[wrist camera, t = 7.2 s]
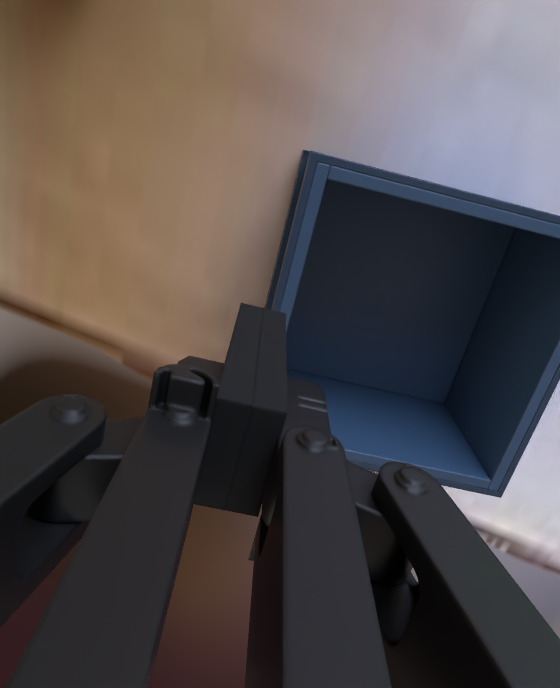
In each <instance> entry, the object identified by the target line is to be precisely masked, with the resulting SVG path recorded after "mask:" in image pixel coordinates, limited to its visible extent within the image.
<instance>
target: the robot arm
mask: <svg viewBox="0 0 560 688" xmlns="http://www.w3.org/2000/svg"><path fill="white" fill-rule="evenodd" d="M193 504H197V505H202V506H207V507H212V508H217V509H222V510H227V511H232V512H237V513H242V514H247V515H252V516H257V517H258V515H259V511H260V508H261V504H262V514H261V517H260V521H259V524H258V528H257V531H256V535H255V538H254V542H253V546H252V549H251V553H250V556H249V560H252V561H253V560H254V569H253V582H252V595H251V610H250V623H249V636H248V637H249V638H248V649H247V663H246V676H245V688H560V639H559V637H558V636H557V635H556V634H555V632H554V631H553V630H552V628H551V627H550V626H549V624H548V623H547V622H546V621H545V619H544V618H543V617H542V615H541V614H540V613H539V612H538V610H537V609H536V608H535V606H534V605H533V604H532V603H531V601H530V600H529V599H528V597H527V596H526V595H525V593H524V592H523V591H522V590H521V588H520V587H519V586H518V584H517V583H516V582H515V580H514V579H513V578H512V577H511V575H510V574H509V573H508V572H507V570H506V569H505V568H504V566H503V565H502V564H501V562H500V561H499V560H498V559H497V557H496V556H495V555H494V553H493V552H492V551H491V549H490V548H489V547H488V545H487V544H486V543H485V542H484V540H483V539H482V538H481V536H480V535H479V534H478V533H477V531H476V530H475V529H474V527H473V526H472V525H471V523H470V522H469V521H468V520H467V518H466V517H465V516H464V514H463V513H462V512H461V511H460V509H459V508H458V507H457V505H456V504H455V503H454V501H453V500H452V499H451V498H450V496H449V495H448V494H447V492H446V491H445V490H444V488H443V487H442V486H441V485H440V483H439V482H438V481H437V480H436V479H435V478H434V477H433V476H432V475H430V474H429V473H427V472H426V471H424V470H423V469H422V468H420V467H418V466H414V465H413V464H410V463H404V462H398V461H395V462H387V463H385V464H383V465H382V466H381V468H380V471H379V473H378V475H377V474H375V473H373V472H370V471H368V470H365V469H363V468H361V467H359V466H357V465H355V464H353V463H351V462H349V461H348V460H346V455H345V450H344V447H343V445H342V443H341V442H340V441H339V440H338V439H337V438H336V437H335V436H334V435H332V434H331V429H330V423H329V417H328V412H327V405H326V399H325V393H324V392H323V390H322V389H321V388H320V387H319V386H318V385H317V383H316V382H312V381H307V380H303V379H298V378H294V377H289V376H287V353H286V313H282V312H278V311H274V310H270V309H265V308H261V307H257V306H252V305H248V304H244V303H241V305H240V308H239V312H238V316H237V319H236V323H235V327H234V330H233V334H232V338H231V341H230V345H229V349H228V352H227V356H226V360H225V363H220V362H216V361H211V360H207V359H202V358H198V357H193V356H188V357H186V358H184V359H183V360H181V361H179V362H178V363H177V364H172V365H166V366H163V367H159V368H158V369H157V370H156V371H155V372H154V376H153V382H152V389H151V395H150V401H149V408H148V409H147V411H146V413H145V415H144V416H141V417H136V418H131V419H106V409H105V408H104V407H103V405H102V404H101V403H99V402H97V401H95V400H94V399H92V398H89V397H84V396H81V395H75V394H73V395H71V394H63V395H57V396H51V397H48V398H46V399H43V400H41V401H39V402H37V403H36V404H34V405H32V406H31V407H29V408H28V409H26V410H24V411H22V412H21V413H19V414H17V415H16V416H14V417H12V418H11V419H9V420H7V421H6V422H4V423H2V424H1V425H0V627H1V626H2V625H3V624H4V623H5V622H6V621H7V620H8V618H9V617H10V616H11V615H12V614H13V613H14V612H15V611H16V609H18V607H19V606H20V605H21V604H22V603H23V602H24V601H25V600H26V599H27V597H28V596H29V595H30V594H31V593H32V592H33V591H34V590H35V589H36V588H37V586H38V585H39V584H40V583H41V582H42V581H43V580H44V579H45V578H46V577H47V575H48V574H49V573H50V572H51V571H52V570H53V569H54V568H55V567H56V565H57V564H58V563H59V562H60V561H61V560H62V559H63V558H64V557H65V556H66V555H67V553H68V552H69V551H70V550H71V549H72V548H73V547H74V546H75V545H76V543H77V542H78V541H79V540H80V539H81V540H80V542H79V544H78V546H77V548H76V550H75V552H74V554H73V556H72V558H71V560H70V562H69V564H68V565H67V568H66V569H65V571H64V573H63V575H62V577H61V579H60V581H59V583H58V585H57V587H56V589H55V591H54V593H53V595H52V597H51V599H50V601H49V603H48V604H47V606H46V608H45V610H44V613H43V614H42V616H41V618H40V620H39V622H38V624H37V626H36V628H35V630H34V632H33V634H32V636H31V638H30V640H29V642H28V643H27V645H26V647H25V649H24V651H23V653H22V655H21V657H20V659H19V661H18V663H17V665H16V667H15V669H14V671H13V673H12V675H11V677H10V679H9V681H8V683H7V685H6V687H5V688H148V687H149V683H150V679H151V675H152V671H153V667H154V663H155V659H156V655H157V651H158V647H159V643H160V639H161V635H162V630H163V626H164V623H165V618H166V614H167V610H168V606H169V602H170V598H171V594H172V590H173V586H174V581H175V578H176V574H177V570H178V566H179V561H180V557H181V553H182V550H183V545H184V541H185V537H186V533H187V529H188V525H189V521H190V517H191V512H192V508H193ZM412 567H413V568H414V570H415V572H416V575H417V577H418V582H419V583H418V582H417V581H416V580H415V578H414V577H413V575H412V573H411V569H412Z"/></svg>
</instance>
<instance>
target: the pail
mask: <svg viewBox="0 0 560 688" xmlns="http://www.w3.org/2000/svg"><path fill="white" fill-rule="evenodd" d="M265 309H270V310H274V311H278V312H282V313H286V353H287V376H289V377H294V378H298V379H303V380H307V381H312V382H316V383H317V385H318V386H319V387H320V388H321V389H322V390H323V392H324V393H325V399H326V405H327V412H328V417H329V423H330V429H331V434H332V435H334V436H335V437H336V438H337V439H338V440H339V441H340V442H341V443H342V445H343V447H344V450H345V455H346V460H348V461H349V462H351V463H353V464H355V465H357V466H359V467H361V468H363V469H367V470H372V471H377V472H379V471H380V468H381V466H382V465H383V464H385V463H387V462H395V461H398V462H404V463H410V464H413V465H414V466H418V467H420V468H422V469H423V470H424V471H426V472H427V473H429V474H430V475H432V476H433V477H434V478H435V479H436V480H437V481H438V482H439V483H440V485H443V486H448V487H453V488H457V489H462V490H467V491H472V492H477V493H481V494H486V495H491V496H496V497H500V498H501V497H502V495H503V493H504V491H505V489H506V487H507V485H508V483H509V481H510V479H511V477H512V475H513V473H514V471H515V468H516V466H517V464H518V462H519V460H520V458H521V456H522V454H523V452H524V450H525V448H526V446H527V444H528V442H529V440H530V438H531V436H532V434H533V432H534V430H535V428H536V426H537V424H538V422H539V420H540V418H541V416H542V414H543V412H544V410H545V408H546V406H547V404H548V402H549V400H550V398H551V396H552V394H553V392H554V390H555V388H556V386H557V384H558V382H559V380H560V216H558V215H554V214H550V213H547V212H543V211H539V210H535V209H531V208H527V207H524V206H520V205H516V204H512V203H508V202H504V201H501V200H497V199H493V198H489V197H485V196H482V195H478V194H474V193H470V192H466V191H462V190H459V189H455V188H451V187H447V186H443V185H440V184H436V183H432V182H428V181H424V180H420V179H417V178H413V177H409V176H405V175H401V174H397V173H394V172H390V171H386V170H382V169H378V168H375V167H371V166H367V165H363V164H359V163H355V162H352V161H348V160H344V159H340V158H336V157H332V156H329V155H325V154H321V153H317V152H313V151H310V152H309V151H305V150H303V152H302V157H301V161H300V165H299V169H298V173H297V177H296V181H295V185H294V190H293V194H292V198H291V202H290V206H289V210H288V214H287V218H286V223H285V227H284V231H283V235H282V239H281V243H280V247H279V252H278V256H277V260H276V264H275V268H274V272H273V276H272V280H271V285H270V289H269V293H268V297H267V301H266V305H265Z"/></svg>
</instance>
